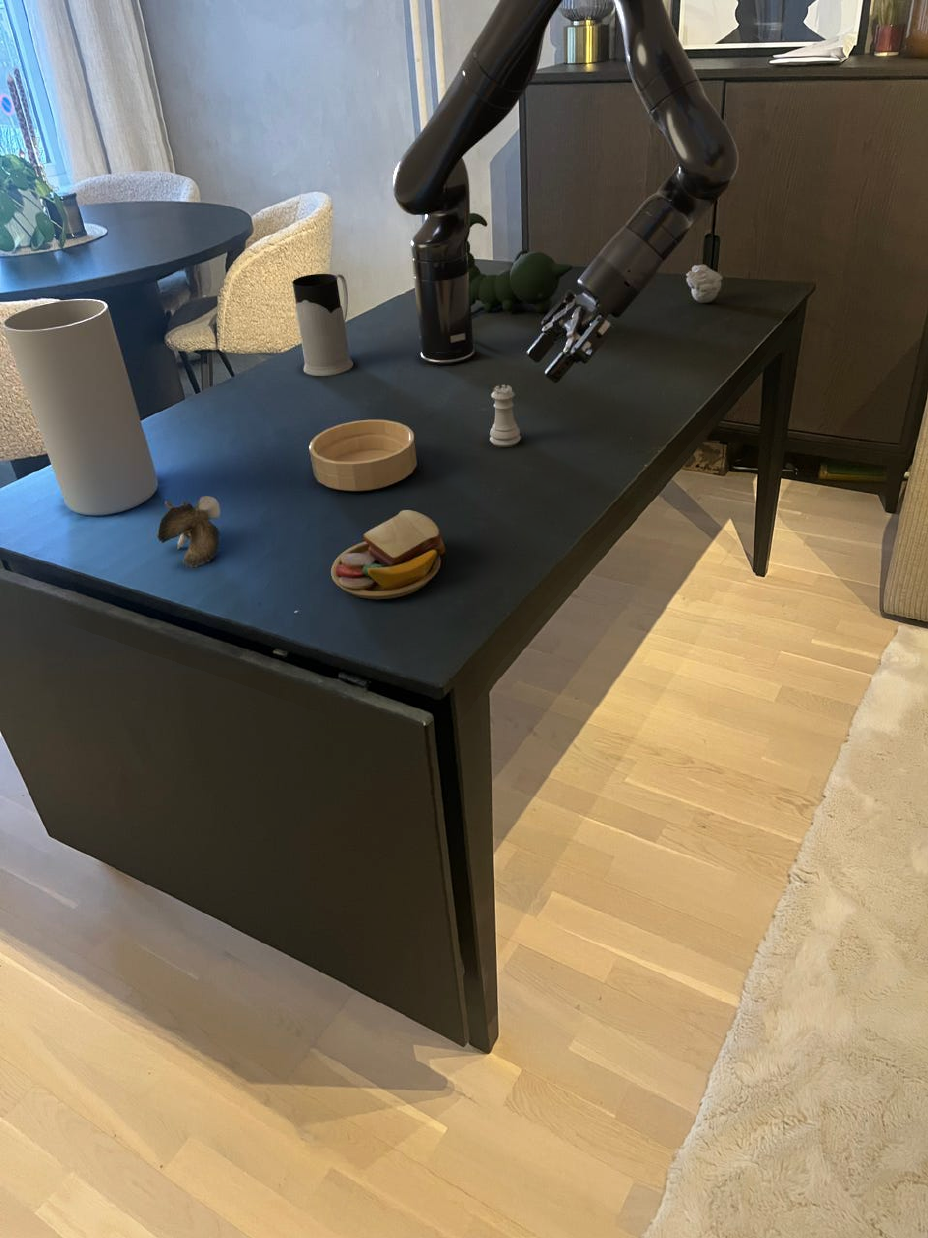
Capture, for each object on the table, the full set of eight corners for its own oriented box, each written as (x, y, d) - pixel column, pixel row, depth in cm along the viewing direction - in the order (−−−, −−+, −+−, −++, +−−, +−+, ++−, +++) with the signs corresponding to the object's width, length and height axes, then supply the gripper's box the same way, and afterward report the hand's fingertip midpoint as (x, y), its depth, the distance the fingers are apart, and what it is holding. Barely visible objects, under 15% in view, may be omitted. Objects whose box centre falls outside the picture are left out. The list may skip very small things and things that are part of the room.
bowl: (317, 454, 136) (312, 425, 134) (415, 444, 137) (412, 415, 134) (312, 499, 125) (306, 468, 122) (418, 488, 125) (415, 457, 122)
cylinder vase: (108, 525, 123) (45, 336, 108) (47, 506, 129) (-20, 324, 114) (178, 485, 131) (128, 304, 117) (118, 469, 137) (63, 295, 123)
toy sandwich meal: (316, 566, 110) (309, 531, 108) (419, 532, 115) (415, 498, 112) (358, 617, 101) (351, 579, 98) (468, 578, 106) (465, 541, 103)
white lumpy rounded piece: (680, 299, 182) (682, 262, 179) (715, 296, 183) (718, 258, 179) (689, 309, 178) (692, 270, 174) (726, 305, 178) (729, 267, 174)
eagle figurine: (154, 529, 118) (145, 553, 110) (174, 479, 116) (167, 498, 108) (212, 552, 121) (208, 576, 113) (233, 503, 119) (230, 524, 111)
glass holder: (294, 373, 164) (278, 286, 156) (333, 346, 175) (320, 263, 166) (338, 377, 161) (324, 288, 153) (375, 349, 172) (364, 264, 163)
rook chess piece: (524, 436, 136) (522, 382, 131) (516, 449, 133) (513, 395, 128) (495, 433, 137) (492, 381, 133) (485, 446, 134) (482, 393, 129)
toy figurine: (450, 321, 187) (567, 319, 176) (434, 220, 177) (556, 211, 166) (471, 306, 194) (585, 303, 183) (456, 209, 184) (576, 199, 173)
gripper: (583, 242, 129) (507, 337, 134) (621, 267, 118) (536, 369, 123) (619, 276, 133) (543, 367, 138) (659, 303, 121) (575, 402, 126)
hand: (540, 368), depth 130 cm, fingers open, 8 cm apart
